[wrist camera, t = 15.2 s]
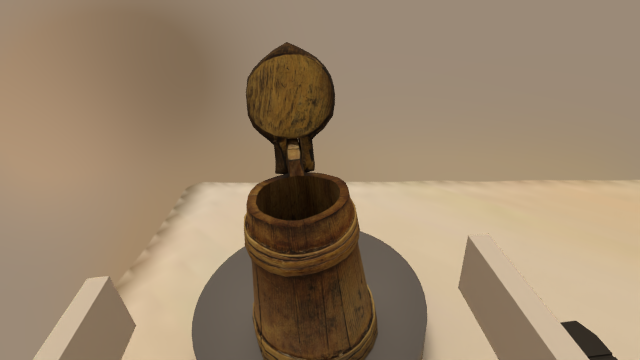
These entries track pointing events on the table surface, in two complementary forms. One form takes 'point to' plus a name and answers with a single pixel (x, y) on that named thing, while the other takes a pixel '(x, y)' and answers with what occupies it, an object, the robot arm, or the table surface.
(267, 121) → the wooden mug
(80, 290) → the robot arm
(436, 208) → the table surface
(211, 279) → the charcoal plinth
